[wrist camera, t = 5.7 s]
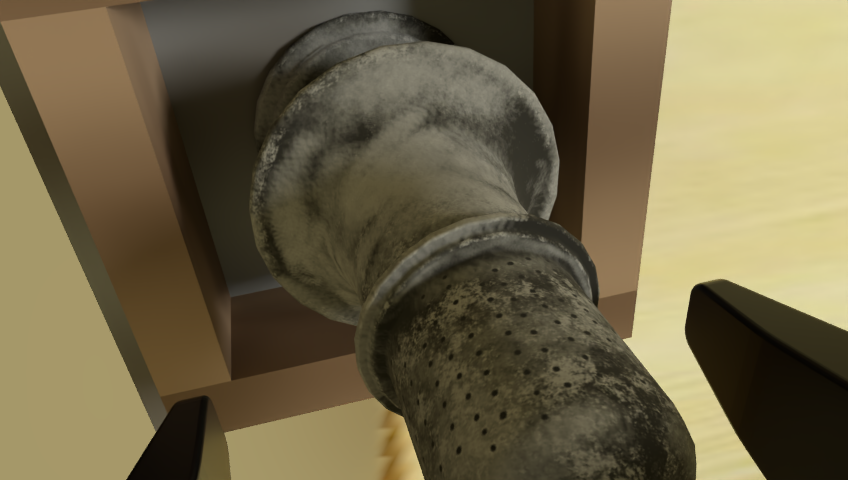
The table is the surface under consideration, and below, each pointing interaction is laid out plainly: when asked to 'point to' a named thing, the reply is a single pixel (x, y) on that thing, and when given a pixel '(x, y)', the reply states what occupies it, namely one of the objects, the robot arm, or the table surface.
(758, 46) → the table surface
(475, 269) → the salt shaker
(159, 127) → the socket
